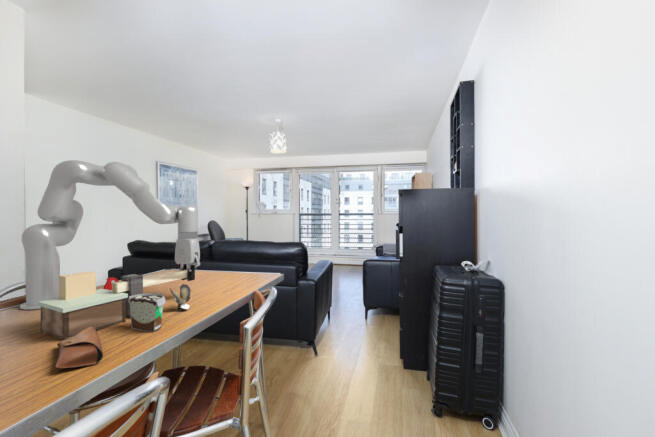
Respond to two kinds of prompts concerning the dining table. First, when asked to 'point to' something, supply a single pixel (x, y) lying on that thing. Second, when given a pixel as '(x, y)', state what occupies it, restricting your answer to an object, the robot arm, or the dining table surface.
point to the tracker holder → (110, 283)
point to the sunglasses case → (80, 350)
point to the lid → (79, 293)
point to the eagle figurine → (182, 297)
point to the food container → (146, 311)
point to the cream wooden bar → (151, 280)
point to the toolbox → (90, 314)
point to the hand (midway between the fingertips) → (188, 279)
